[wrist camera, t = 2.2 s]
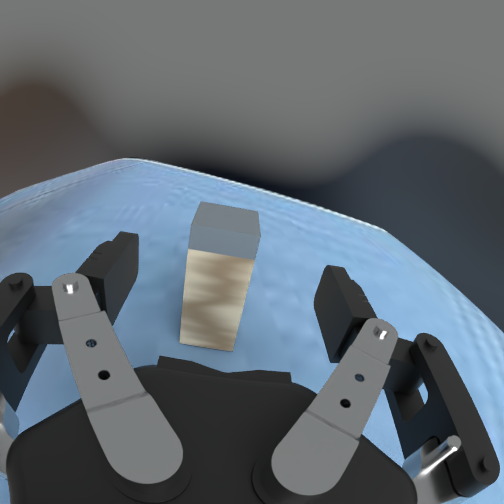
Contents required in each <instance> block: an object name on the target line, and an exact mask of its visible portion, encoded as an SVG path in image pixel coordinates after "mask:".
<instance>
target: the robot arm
mask: <svg viewBox="0 0 504 504" xmlns="http://www.w3.org/2000/svg"><path fill="white" fill-rule="evenodd" d="M138 253H139V237H138V234H135V233H128V232H122V231H121V232H119V234H118V235H117V236H116V237H115V238H114V240H113V241H106V242H104V243H102V244H100V245H98V247H97V248H96V249H95V250H94V251H93V253H92V254H91V255H90V256H89V258H87V259H86V261H85V262H84V263H83V264H82V265H81V266H80V268H79V269H78V270H77V271H76V273H68V274H64V275H61V276H59V277H58V278H56V279H55V280H54V282H53V283H52V286H34V283H33V279H32V277H31V276H30V275H29V274H26V273H14V274H11V275H9V276H7V277H6V278H4V279H3V280H2V281H1V283H0V477H2V478H4V479H6V480H8V485H9V492H10V503H11V504H460V503H462V502H464V501H466V500H467V499H469V498H471V497H472V496H474V495H476V494H477V493H479V492H480V491H482V490H483V489H485V488H486V487H488V486H489V485H491V484H492V483H494V482H495V481H496V480H497V478H498V476H499V473H500V465H499V461H498V458H497V456H496V453H495V450H494V448H493V445H492V443H491V440H490V438H489V436H488V433H487V431H486V429H485V426H484V424H483V422H482V420H481V417H480V415H479V413H478V411H477V409H476V407H475V405H474V403H473V400H472V398H471V396H470V394H469V392H468V390H467V388H466V386H465V384H464V382H463V381H462V379H461V377H460V375H459V373H458V371H457V369H456V367H455V365H454V364H453V362H452V360H451V358H450V356H449V355H448V353H447V351H446V349H445V348H444V346H443V344H442V343H441V342H440V341H439V340H438V339H437V338H436V337H434V336H432V335H430V334H427V333H420V334H418V335H417V337H416V338H415V340H414V341H413V342H411V341H408V340H405V339H401V338H398V333H397V331H396V329H395V328H394V327H393V326H392V325H391V324H390V323H388V322H386V321H384V320H382V319H378V318H377V316H376V314H375V312H374V310H373V308H372V307H371V305H370V303H369V302H368V299H367V297H366V296H365V294H364V292H363V290H362V288H361V287H360V286H359V285H358V284H357V283H356V282H355V281H354V280H351V279H350V277H349V275H348V274H347V272H346V270H345V268H343V267H338V266H331V265H327V266H326V267H325V269H324V272H323V274H322V277H321V280H320V283H319V286H318V288H317V291H316V294H315V298H314V310H315V313H316V316H317V319H318V323H319V326H320V329H321V333H322V336H323V340H324V343H325V347H326V350H327V353H328V357H329V360H330V363H339V364H338V366H337V367H336V369H335V370H334V372H333V373H332V375H331V376H330V378H329V379H328V381H327V382H326V383H325V385H324V386H323V388H322V389H321V391H320V392H319V393H318V394H316V393H315V392H313V391H312V390H310V389H308V388H306V387H304V386H302V385H299V384H296V383H293V382H292V381H291V374H290V372H277V371H265V370H254V371H243V372H231V373H225V372H221V371H218V370H215V369H212V368H209V367H206V366H203V365H201V364H198V363H195V362H192V361H187V360H181V359H175V358H170V357H164V356H159V360H158V364H157V365H148V366H142V367H137V368H134V369H133V368H132V366H131V364H130V362H129V360H128V358H127V356H126V354H125V352H124V350H123V348H122V346H121V344H120V342H119V340H118V338H117V336H116V334H115V332H114V330H113V327H112V326H113V324H114V322H115V320H116V318H117V316H118V314H119V312H120V310H121V308H122V306H123V304H124V302H125V300H126V298H127V296H128V294H129V292H130V290H131V289H132V287H133V285H134V283H135V281H136V278H137V274H138ZM13 328H14V331H15V332H14V334H13V335H12V337H11V338H10V340H9V342H8V343H7V341H8V337H9V334H10V333H11V331H12V330H13ZM47 344H64V345H65V349H66V352H67V356H68V359H69V363H70V366H71V369H72V372H73V375H74V378H75V381H76V384H77V387H78V390H79V393H80V396H81V398H80V399H79V400H77V401H75V402H74V403H72V404H70V405H68V406H67V407H65V408H63V409H62V410H60V411H58V412H56V413H55V414H53V415H51V416H49V417H48V418H46V419H44V420H42V421H41V422H39V423H37V424H35V425H34V426H32V427H30V428H28V429H26V430H25V431H23V432H22V433H20V434H19V435H18V432H19V419H18V417H17V415H16V413H15V412H16V410H17V407H18V405H19V403H20V400H21V398H22V396H23V393H24V391H25V389H26V387H27V385H28V382H29V380H30V378H31V376H32V374H33V372H34V370H35V368H36V366H37V364H38V362H39V360H40V358H41V356H42V354H43V352H44V350H45V348H46V346H47ZM423 382H424V384H425V386H426V389H427V391H428V399H427V402H426V404H425V405H424V402H423V400H422V397H421V395H420V392H419V390H418V388H419V387H420V386H421V385H422V383H423ZM382 389H384V391H385V394H386V397H387V400H388V403H389V407H390V410H391V413H392V416H393V420H394V423H395V427H396V430H397V434H398V437H399V441H400V444H401V448H402V452H403V455H404V459H405V461H404V463H403V465H402V468H401V467H400V466H399V465H398V464H397V463H395V462H394V461H393V460H392V459H391V458H389V457H388V456H387V455H386V454H385V453H383V452H382V451H381V450H380V449H379V448H377V447H376V446H375V445H374V444H373V443H372V442H370V441H369V440H368V439H367V438H366V437H365V436H364V435H362V434H361V433H362V431H363V429H364V427H365V425H366V423H367V421H368V419H369V417H370V415H371V412H372V410H373V408H374V406H375V404H376V401H377V399H378V397H379V394H380V392H381V390H382Z"/></svg>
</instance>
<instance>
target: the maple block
mask: <svg viewBox="0 0 504 504" xmlns="http://www.w3.org/2000/svg"><path fill="white" fill-rule="evenodd" d="M260 237H261V234H260V225H259V216H258V211H252V210H247V209H241V208H236V207H230V206H225V205H219V204H213V203H207V202H200V204H199V207H198V209H197V212H196V214H195V216H194V219H193V221H192V224H191V230H190V238H189V247H188V255H187V264H186V273H185V283H184V293H183V304H182V316H181V328H180V342H179V343H182V344H187V345H193V346H199V347H205V348H212V349H218V350H225V351H232V352H233V348H234V344H235V340H236V336H237V331H238V327H239V323H240V319H241V315H242V311H243V307H244V303H245V299H246V295H247V291H248V287H249V282H250V278H251V274H252V270H253V266H254V262H255V258H256V254H257V250H258V246H259V241H260Z"/></svg>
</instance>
